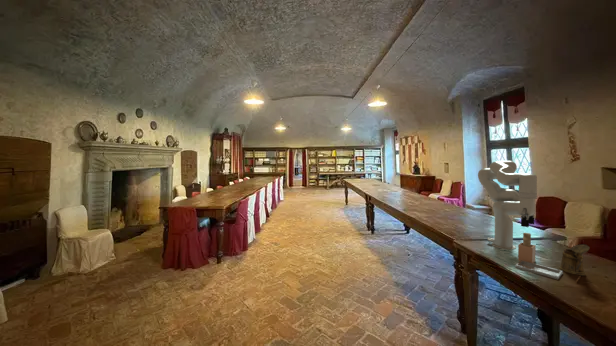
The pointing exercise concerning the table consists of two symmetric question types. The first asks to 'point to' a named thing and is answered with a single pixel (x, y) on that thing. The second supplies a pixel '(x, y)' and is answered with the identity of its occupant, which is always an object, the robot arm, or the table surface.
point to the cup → (526, 253)
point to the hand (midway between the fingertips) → (527, 225)
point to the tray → (539, 269)
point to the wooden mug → (574, 259)
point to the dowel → (527, 239)
